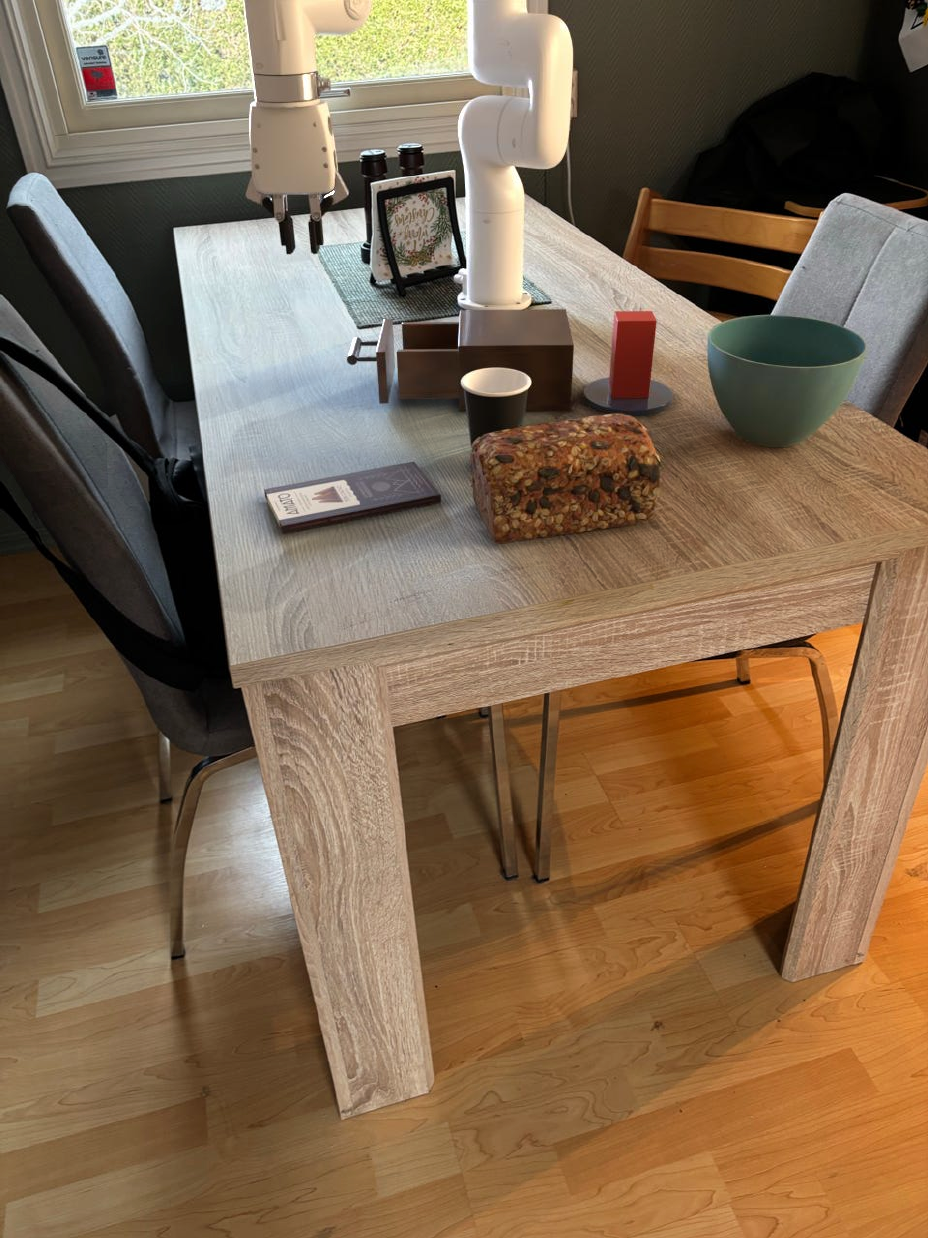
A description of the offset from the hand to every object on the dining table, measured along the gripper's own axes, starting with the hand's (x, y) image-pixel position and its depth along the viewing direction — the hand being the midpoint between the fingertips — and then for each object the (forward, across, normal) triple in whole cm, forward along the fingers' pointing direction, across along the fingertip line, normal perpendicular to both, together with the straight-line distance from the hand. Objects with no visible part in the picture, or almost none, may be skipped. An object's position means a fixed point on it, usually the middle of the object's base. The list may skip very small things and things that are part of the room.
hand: (303, 249), depth 125 cm
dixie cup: (+19, -24, +24) cm, 39 cm away
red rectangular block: (+18, -43, +3) cm, 47 cm away
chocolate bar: (+19, -8, +32) cm, 38 cm away
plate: (+19, -43, +3) cm, 47 cm away
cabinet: (+19, -27, 0) cm, 33 cm away
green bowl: (+19, -59, +15) cm, 64 cm away
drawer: (+18, -14, 0) cm, 23 cm away
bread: (+19, -32, +35) cm, 51 cm away
